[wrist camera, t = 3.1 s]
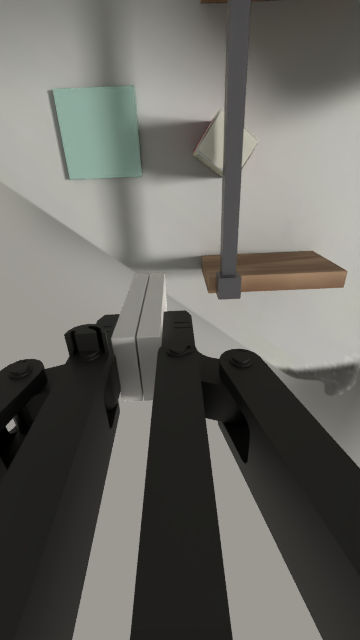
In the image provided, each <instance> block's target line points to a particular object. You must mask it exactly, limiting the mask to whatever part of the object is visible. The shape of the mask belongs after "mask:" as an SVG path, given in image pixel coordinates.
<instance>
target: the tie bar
mask: <svg viewBox="0 0 360 640" xmlns="http://www.w3.org/2000/svg"><path fill="white" fill-rule="evenodd" d="M250 5H251V0H228V2H227V38H226V74H225V110H224V146H223V182H222V217H221V253H220V271H217V272H216V294H217V297H218V299H240V296H241V280H242V277H241V276H240V274H239V273H238V271H236V262H237V243H238V225H239V207H240V188H241V170H242V152H243V133H244V115H245V97H246V79H247V60H248V42H249V24H250Z"/></svg>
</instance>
